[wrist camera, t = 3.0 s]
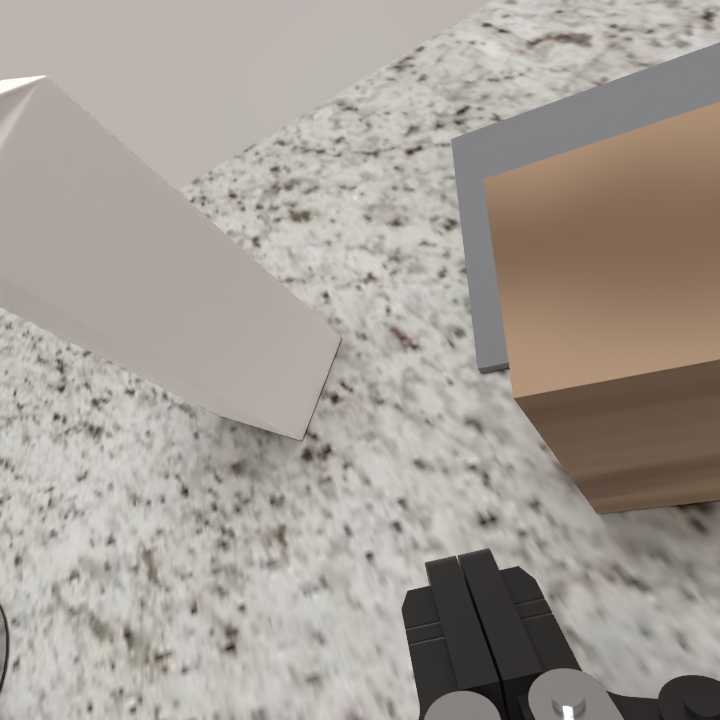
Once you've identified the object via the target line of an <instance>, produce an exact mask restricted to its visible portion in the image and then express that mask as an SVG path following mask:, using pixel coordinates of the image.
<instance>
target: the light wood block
mask: <svg viewBox="0 0 720 720" xmlns="http://www.w3.org/2000/svg"><path fill="white" fill-rule="evenodd" d="M483 183H484V190H485V197H486V204H487V211H488V219H489V226H490V233H491V240H492V247H493V254H494V261H495V268H496V276H497V283H498V290H499V297H500V304H501V311H502V318H503V325H504V333H505V340H506V347H507V354H508V361H509V368H510V375H511V382H512V390H513V397H514V399H515V401H516V402H517V403H518V405H519V406H520V408H521V409H522V410H523V412H524V413H525V414H526V416H527V417H528V419H529V420H530V421H531V423H532V424H533V425H534V427H535V428H536V430H537V431H538V432H539V434H540V435H541V437H542V438H543V439H544V441H545V442H546V443H547V445H548V446H549V448H550V449H551V450H552V452H553V453H554V455H555V456H556V457H557V459H558V460H559V461H560V463H561V464H562V466H563V467H564V468H565V470H566V471H567V473H568V474H569V475H570V477H571V478H572V479H573V481H574V482H575V484H576V485H577V486H578V488H579V489H580V490H581V492H582V493H583V495H584V496H585V497H586V499H587V500H588V502H589V503H590V504H591V506H592V507H593V508H594V510H595V511H596V513H597V514H601V513H610V512H619V511H628V510H637V509H646V508H655V507H664V506H673V505H682V504H691V503H700V502H709V501H718V500H720V102H717V103H714V104H711V105H708V106H705V107H702V108H699V109H696V110H693V111H689V112H686V113H683V114H680V115H677V116H674V117H671V118H668V119H665V120H662V121H659V122H656V123H653V124H650V125H647V126H644V127H641V128H638V129H635V130H632V131H629V132H625V133H622V134H619V135H616V136H613V137H610V138H607V139H604V140H601V141H598V142H595V143H592V144H589V145H586V146H583V147H580V148H577V149H574V150H571V151H568V152H564V153H561V154H558V155H555V156H552V157H549V158H546V159H543V160H540V161H537V162H534V163H531V164H528V165H525V166H522V167H519V168H516V169H513V170H510V171H507V172H504V173H500V174H497V175H494V176H491V177H488V178H485V179H483Z"/></svg>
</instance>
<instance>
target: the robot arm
mask: <svg viewBox="0 0 720 720" xmlns="http://www.w3.org/2000/svg"><path fill="white" fill-rule="evenodd" d="M458 562H459V563H458ZM425 567H426V572H427V576H428V581H429V586H427V587H423V588H418V589H414V590H409V591H407V594H406V597H405V600H404V603H403V606H402V614H403V619H404V625H405V629H406V635H407V640H408V645H409V651H410V656H411V661H412V667H413V672H414V677H415V682H416V688H417V693H418V698H419V703H420V716H419V720H720V681H717V680H715V679H712V678H709V677H705V676H698V675H687V676H681V677H677V678H674V679H672V680H670V681H669V682H668V683H666V684H665V685H664V686H663V688H662V689H661V691H660V693H659V697H658V699H652V698H638V697H627V696H621V695H617V694H614V693H611V692H608V691H606V690H605V689H604V687H603V686H602V685H601V684H600V683H599V682H598V681H597V680H596V679H595V678H593V677H592V676H590V675H588V674H586V673H584V672H583V671H582V670H581V668H580V666H579V664H578V662H577V660H576V658H575V656H574V654H573V652H572V651H571V649H570V647H569V645H568V643H567V641H566V639H565V637H564V635H563V633H562V631H561V629H560V627H559V625H558V623H557V621H556V619H555V617H554V615H552V611H551V609H550V607H549V605H548V603H547V601H546V600H545V598H544V596H543V594H542V592H541V590H540V588H539V586H538V584H537V582H536V580H535V579H534V578H533V577H532V576H530V575H529V574H528V573H526V572H525V571H524V570H523V569H521V568H520V567H519V566H517V567H513V568H508V569H504V570H499V569H498V567H497V564H496V562H495V560H494V557H493V555H492V553H491V551H490V549H484V550H480V551H475V552H471V553H466V554H462V555H458V560H457V558H456V556H452V557H448V558H443V559H439V560H434V561H430V562H425ZM5 656H6V630H5V624H4V618H3V616H2V613H1V610H0V682H1V678H2V674H3V670H4V663H5Z"/></svg>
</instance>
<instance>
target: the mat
mask: <svg viewBox="0 0 720 720" xmlns="http://www.w3.org/2000/svg"><path fill="white" fill-rule="evenodd" d="M717 102H720V43H717V44H714V45H711V46H709V47H706V48H703V49H700V50H697V51H695V52H692V53H689V54H686V55H684V56H681V57H678V58H675V59H672V60H670V61H667V62H664V63H661V64H659V65H656V66H653V67H650V68H647V69H645V70H642V71H639V72H636V73H634V74H631V75H628V76H625V77H622V78H620V79H617V80H614V81H611V82H609V83H606V84H603V85H600V86H597V87H595V88H592V89H589V90H586V91H584V92H581V93H578V94H575V95H573V96H570V97H567V98H564V99H561V100H559V101H556V102H553V103H550V104H548V105H545V106H542V107H539V108H536V109H534V110H531V111H528V112H525V113H523V114H520V115H517V116H514V117H511V118H509V119H506V120H503V121H500V122H498V123H495V124H492V125H489V126H486V127H484V128H481V129H478V130H475V131H473V132H470V133H467V134H464V135H461V136H459V137H456V138H453V139H451V141H452V150H453V158H454V167H455V175H456V184H457V192H458V201H459V210H460V218H461V227H462V235H463V244H464V252H465V261H466V270H467V278H468V287H469V295H470V304H471V312H472V321H473V330H474V338H475V347H476V355H477V364H478V369H479V371H480V372H481V373H487V372H492V371H496V370H501V369H506V368H509V361H508V354H507V347H506V340H505V333H504V325H503V318H502V311H501V304H500V297H499V290H498V283H497V276H496V268H495V261H494V254H493V247H492V240H491V233H490V226H489V219H488V211H487V204H486V197H485V190H484V183H483V179H485V178H488V177H491V176H494V175H497V174H500V173H504V172H507V171H510V170H513V169H516V168H519V167H522V166H525V165H528V164H531V163H534V162H537V161H540V160H543V159H546V158H549V157H552V156H555V155H558V154H561V153H564V152H568V151H571V150H574V149H577V148H580V147H583V146H586V145H589V144H592V143H595V142H598V141H601V140H604V139H607V138H610V137H613V136H616V135H619V134H622V133H625V132H629V131H632V130H635V129H638V128H641V127H644V126H647V125H650V124H653V123H656V122H659V121H662V120H665V119H668V118H671V117H674V116H677V115H680V114H683V113H686V112H689V111H693V110H696V109H699V108H702V107H705V106H708V105H711V104H714V103H717Z"/></svg>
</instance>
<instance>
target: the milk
mask: <svg viewBox="0 0 720 720" xmlns="http://www.w3.org/2000/svg"><path fill="white" fill-rule="evenodd" d="M0 307H2V308H4V309H6V310H8V311H10V312H12V313H14V314H16V315H18V316H20V317H22V318H24V319H26V320H28V321H30V322H32V323H34V324H36V325H38V326H40V327H42V328H44V329H46V330H48V331H50V332H52V333H54V334H56V335H58V336H60V337H62V338H64V339H66V340H68V341H70V342H72V343H74V344H76V345H78V346H80V347H82V348H84V349H86V350H88V351H90V352H92V353H94V354H96V355H98V356H100V357H102V358H104V359H106V360H108V361H110V362H112V363H114V364H116V365H118V366H120V367H122V368H124V369H126V370H128V371H130V372H132V373H134V374H136V375H138V376H140V377H142V378H144V379H146V380H148V381H150V382H152V383H154V384H156V385H158V386H160V387H162V388H164V389H166V390H168V391H170V392H172V393H174V394H176V395H179V396H181V397H183V398H185V399H187V400H189V401H191V402H193V403H195V404H197V405H199V406H201V407H203V408H205V409H207V410H209V411H211V412H213V413H215V414H217V415H219V416H222V417H225V418H228V419H231V420H235V421H238V422H241V423H245V424H248V425H251V426H254V427H258V428H261V429H264V430H267V431H271V432H274V433H277V434H281V435H284V436H287V437H290V438H294V439H297V440H302V439H303V437H304V434H305V432H306V429H307V427H308V424H309V421H310V419H311V416H312V414H313V411H314V409H315V406H316V403H317V401H318V398H319V396H320V393H321V390H322V388H323V385H324V383H325V380H326V377H327V375H328V372H329V370H330V367H331V364H332V362H333V359H334V357H335V354H336V351H337V349H338V346H339V344H340V341H341V336H340V335H339V334H338V333H337V332H335V331H334V330H333V329H332V328H331V327H330V326H329V325H328V324H326V323H325V322H324V321H323V320H322V319H321V318H320V317H319V316H317V315H316V314H315V313H314V312H313V311H312V310H311V309H310V308H308V307H307V306H306V305H305V304H304V303H303V302H302V301H301V300H299V299H298V298H297V297H296V296H295V295H294V294H293V293H292V292H290V291H289V290H288V289H287V288H286V287H285V286H284V285H283V284H281V283H280V282H279V281H278V280H277V279H276V278H275V277H273V276H272V275H271V274H270V273H269V272H268V271H267V270H266V269H264V268H263V267H262V266H261V265H260V264H259V263H258V262H257V261H255V260H254V259H253V258H252V257H251V256H250V255H249V254H248V253H246V252H245V251H244V250H243V249H242V248H241V247H240V246H239V245H237V244H236V243H235V242H234V241H233V240H232V239H231V238H230V237H228V236H227V235H226V234H225V233H224V232H223V231H222V230H221V229H219V228H218V227H217V226H216V225H215V224H214V223H213V222H212V221H210V220H209V219H208V218H207V217H206V216H205V215H204V214H203V213H201V212H200V211H199V210H198V209H197V208H196V207H195V206H194V205H192V204H191V203H190V202H189V201H188V200H187V199H186V198H185V197H183V196H182V195H181V194H180V193H179V192H178V191H177V190H176V189H174V188H173V187H172V186H171V185H170V184H169V183H168V182H167V181H165V180H164V179H163V178H162V177H161V176H160V175H159V174H157V173H156V172H155V171H154V170H153V169H152V168H151V167H150V166H149V165H147V164H146V163H145V162H144V161H143V160H142V159H141V158H139V157H138V156H137V155H136V154H135V153H134V152H133V151H132V150H131V149H129V148H128V147H127V146H126V145H125V144H124V143H123V142H121V141H120V140H119V139H118V138H117V137H116V136H115V135H114V134H112V133H111V132H110V131H109V130H108V129H107V128H106V127H105V126H103V125H102V124H101V123H100V122H99V121H98V120H97V119H96V118H94V117H93V116H92V115H91V114H90V113H89V112H88V111H87V110H85V109H84V108H83V107H82V106H81V105H80V104H79V103H78V102H76V101H75V100H74V99H73V98H72V97H71V96H70V95H69V94H67V93H66V92H65V91H64V90H63V89H62V88H61V87H60V86H58V85H57V84H56V83H55V82H54V81H53V80H52V79H50V78H49V77H48V76H35V77H27V78H18V79H9V80H0Z"/></svg>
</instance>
